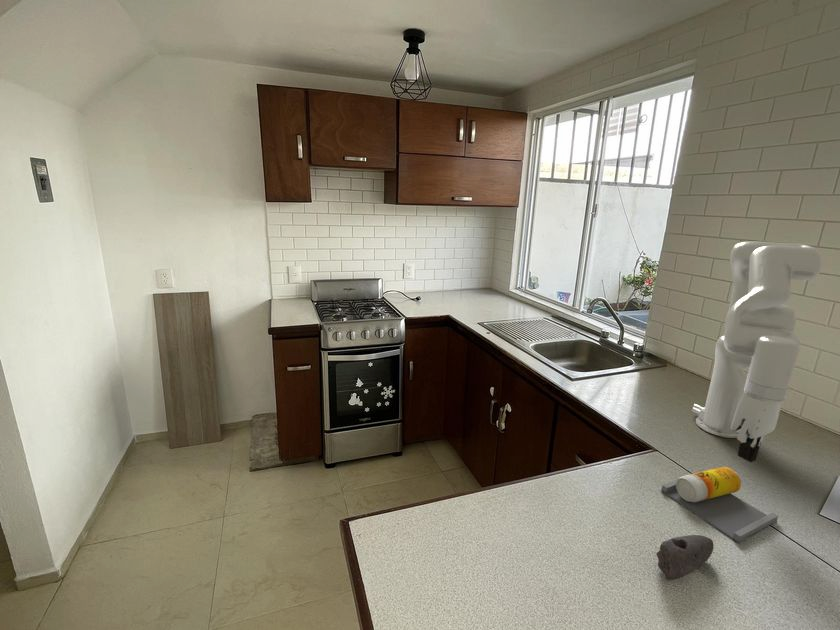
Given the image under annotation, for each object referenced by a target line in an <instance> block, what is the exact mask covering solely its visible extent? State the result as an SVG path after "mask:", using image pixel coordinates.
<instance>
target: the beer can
mask: <svg viewBox="0 0 840 630" xmlns="http://www.w3.org/2000/svg"><path fill="white" fill-rule="evenodd" d="M701 471H702V470H701ZM693 473H694V472H693ZM677 479H678V480H677ZM677 479H676V480H677V482H676V488H677V491H678V493H679V495H680V496H681V497H682V498H683V499H685V500H686V501H690V502H698V501H702V500H706V499H710V498H714V497H718V496H722V495H726V494H730V493H731V494H734V493H737V492H739V491H740V489H741V488H742V480H741V477H740V476H739V474H738V473H737V472H736V471H735V470H734V469H732V468H730V467H728V466H722V467H721V466H719V467H716V468H712V469H706V470H704V471H702V472H698V473H694V474H692V473H689V474H686V475H682V476H680V477H679V478H677Z"/></svg>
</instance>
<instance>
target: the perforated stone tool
mask: <svg viewBox="0 0 840 630" xmlns="http://www.w3.org/2000/svg"><path fill="white" fill-rule="evenodd" d="M714 548H715V547H714V542H713V540H712V538H709V537H708V536H705V535H700V534H691V535H682V536H677V537H672V538H670V539H667V540H665V541H662V542H661V543H660V547H659V550H658V551H657V552H656V557H657V559H658V563H657V567H658V569H660V571H661V572H662V574H663V575H664V578H665V579H666V580H668V581H672V580H676V579H680V578H683V577H685V576H687V575H689V574H691V573H692V572H694V571H696V570H697V569H699V568H700V567H701V566H702V565H704V563H706V562H707V561H708V560H709V559H710V557H711V556H712V553H714V552H713V551H714Z"/></svg>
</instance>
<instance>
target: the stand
mask: <svg viewBox="0 0 840 630" xmlns="http://www.w3.org/2000/svg"><path fill="white" fill-rule="evenodd" d="M698 472H702V470H696V471H694V472H692V473H691V474H694V473H698ZM678 479H679V478H677V479H674V480H672V481H669V482H666V483H664V484H662V485H661V490H660V492H662V493H664V494H665V495H666V496H667V497H669V498H670V499H672V500H674V501H675V502H677V504H680V505H681V506H683V507H684V508H686V510H688V511H690V512H691V513H693V514H695V515H696V516H697V517H698V518H700V519H701V520H703V521H704V522H706V523H707V524H708V525H710V526H712V527H714V528H715V529H716V530H717V531H719V532H721V533H722V534H724V535H725V536H726V537H728V538H729V539H730V540H733V542H735V543H737V544H739V543H742V542H743V541H746V540H747V539H749V538H750V537H752V536H754V535H756V534H757V533H760V532H761V531H763V530H765V529H767V528H768V527H771V526H773V525H774V524H776V523H777V521H778V519H779V515H778V514H776V513H774V512H771V513H769V514H766V513H764V512H763V511H761V510H760V509H757V508H756V507H754V506H753V505H751V504H750V503H748V502H746V501H744V500H743V499H741V498H739V497H737V496H736V495H734V494H733V493H730V494H726V495H722V496H718V497H714V498H710V499H706V500H702V501H698V502H690V501H686V500H685V499H683V498H682V497H681V496H680V495H679V493H678V491H677V488H676V482H677V480H678Z"/></svg>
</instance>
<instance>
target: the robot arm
mask: <svg viewBox="0 0 840 630" xmlns="http://www.w3.org/2000/svg"><path fill="white" fill-rule="evenodd" d="M729 265H730V266H729V267H730V271H731V276H732V284H733V285H732V290H731V291H732V292H731V295H730V296H731V297H730V301H729V307H728V310H727V311H728V312H727V314H726V317H725V321H724V331H723V332H724V333H723V335H722V336H720V337H719V338H718V339H717V340H716V343H715V351H714V352H715V354H714V365H713V370H712V376H711V380H710V382H709V383H710V384H709V388H708V392H707V397H706V401H705V404H704V405H705V406H704V407H703V406H702V405H699V404H697V403H694V404H693V405H692V409H691V412H692V413H693V412H694V413H696V414H698V416H697V417H696V418H695V423H696V425H697V427H699V428H701V429H702V430H703V431H705V432H706V433H709V434H712V435H715V436H719V437H722V438H727V439H736V440H737V441H739V442H740V443H739V448H738V452H737V456H738V457H739V458H741V459H743V460H745V461H747V462H749V463H753V462H755V461H757V457H758V454H759V450H760V446H761V445H762V443H763V440H764V437H765V435H768V434H770V433H773V432H774V431H775V429H776V426H777V423H778V420H779V417H780V412H781V409H782V408H781V407H782V403H784V402H785V401H786V397H787V394H788V391H789V388H790V384H791V382H792V381H791V380H792V378H793V375H794V374H793V373H794V371H795V367H796V364H797V360H798V357H799V354H800V350H801V349H800V348H801V342H800V339H798V336H797V334H796V333H794V332H795V328H796V321H797V316H796V315H797V314H796V311H795V309H793V308H792V307H791V306H790V305H787V304H786V303H788V302H789V301H790V299H791V297H792V280H800V281H812V280H815V279H816V278H818V276H820V275H819V274H820V273H821V271H822V269H823V268H822V267H823V256H822V255H821V252H820V250H819V249H817V248H816V247H813V246H810V245H808V244H801V243H791V242H790V243H788V242H773V241H759V240H758V241H754V240H752V241H749V240H748V241H742V242H739V243H736V244H735V245H734V246H733V248H732V249H731V251H730V258H729ZM743 369H748V372H747V374H746V373H745V371H744V370H743Z"/></svg>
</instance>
